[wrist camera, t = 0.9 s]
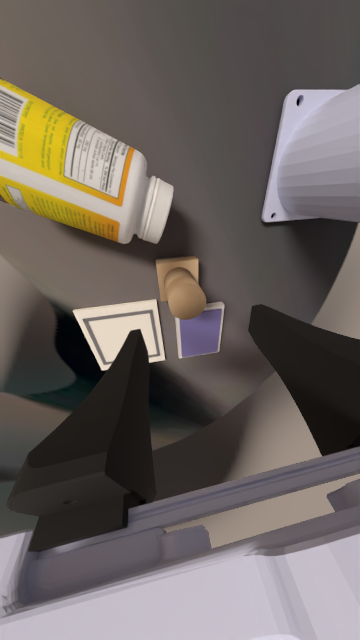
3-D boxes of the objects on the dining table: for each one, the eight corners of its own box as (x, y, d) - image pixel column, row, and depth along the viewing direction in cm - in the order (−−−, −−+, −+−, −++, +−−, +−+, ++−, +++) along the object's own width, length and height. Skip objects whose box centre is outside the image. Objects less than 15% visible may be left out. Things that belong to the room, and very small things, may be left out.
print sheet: (156, 299, 20) (156, 300, 20) (164, 358, 26) (165, 360, 26) (73, 309, 19) (72, 311, 19) (102, 368, 25) (101, 370, 25)
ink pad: (221, 301, 22) (225, 306, 21) (217, 347, 26) (219, 353, 25) (174, 308, 21) (175, 313, 20) (178, 353, 26) (179, 360, 25)
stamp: (194, 254, 18) (213, 277, 13) (194, 290, 20) (211, 321, 15) (155, 258, 17) (160, 283, 12) (159, 294, 20) (165, 327, 15)
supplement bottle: (23, 192, 13) (153, 241, 17) (-34, 207, 9) (153, 267, 13) (8, 80, 10) (174, 170, 13) (-91, 27, 6) (184, 175, 9)
